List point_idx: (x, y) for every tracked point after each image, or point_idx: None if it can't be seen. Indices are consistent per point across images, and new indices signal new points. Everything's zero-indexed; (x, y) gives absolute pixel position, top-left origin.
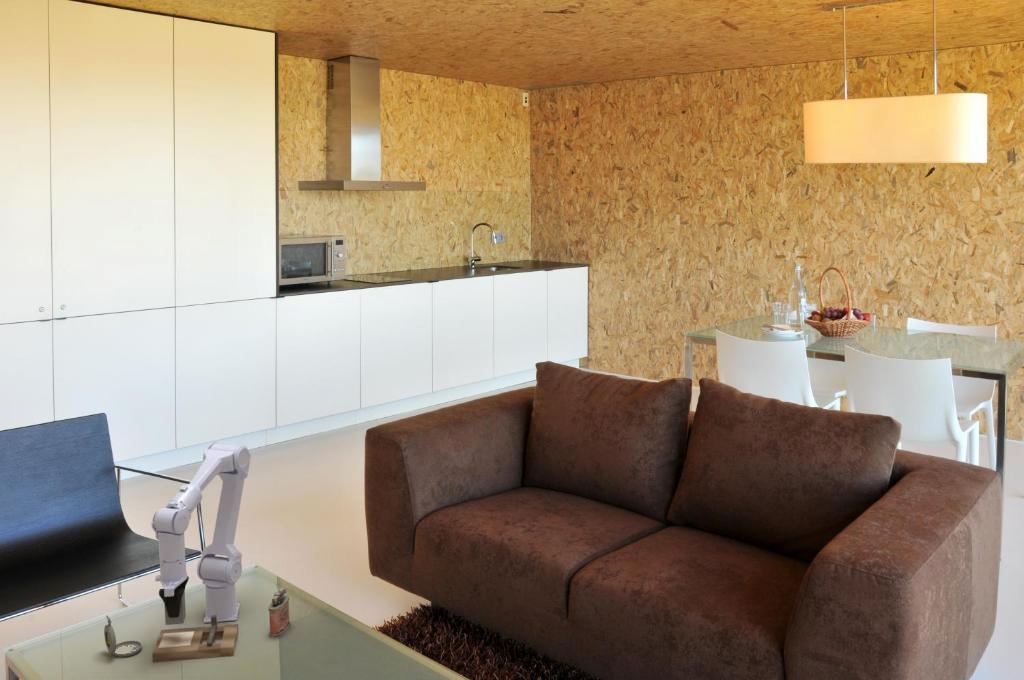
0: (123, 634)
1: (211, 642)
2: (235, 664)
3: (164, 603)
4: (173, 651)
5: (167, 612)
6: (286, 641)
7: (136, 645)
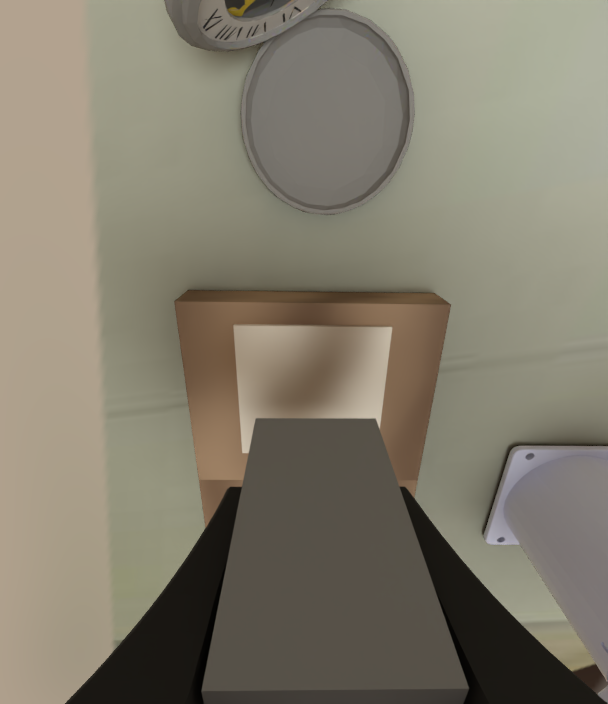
0: (566, 51)
1: None
2: (156, 554)
3: (141, 623)
4: (193, 394)
5: (211, 520)
6: None
7: (370, 175)
